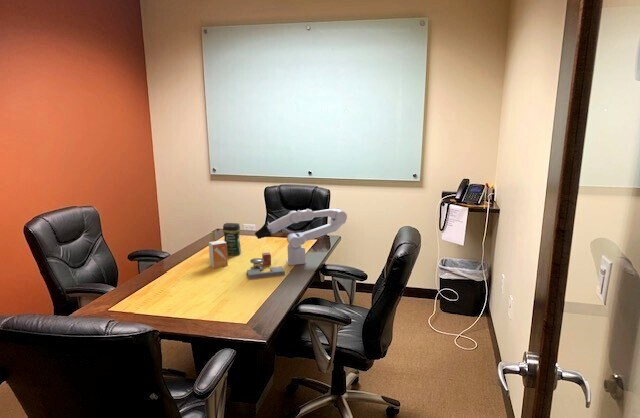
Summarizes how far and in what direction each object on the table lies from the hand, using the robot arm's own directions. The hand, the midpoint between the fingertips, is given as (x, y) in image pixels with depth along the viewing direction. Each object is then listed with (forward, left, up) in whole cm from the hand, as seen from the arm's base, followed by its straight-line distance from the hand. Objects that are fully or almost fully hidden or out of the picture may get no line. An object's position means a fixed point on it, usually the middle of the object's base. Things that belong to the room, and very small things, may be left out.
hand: (256, 236), depth 226 cm
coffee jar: (+11, -26, -17) cm, 33 cm away
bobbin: (+1, +5, -16) cm, 17 cm away
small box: (+20, -7, -17) cm, 27 cm away
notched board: (-2, +14, -16) cm, 22 cm away
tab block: (-5, -1, -17) cm, 17 cm away
